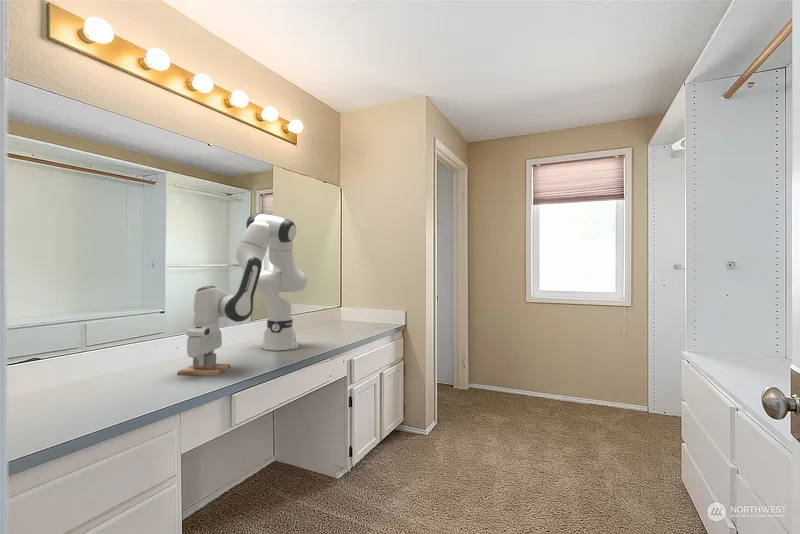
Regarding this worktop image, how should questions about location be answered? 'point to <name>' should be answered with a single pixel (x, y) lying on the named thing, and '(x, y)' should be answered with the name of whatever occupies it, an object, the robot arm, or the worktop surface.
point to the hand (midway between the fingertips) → (205, 363)
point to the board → (204, 370)
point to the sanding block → (206, 361)
